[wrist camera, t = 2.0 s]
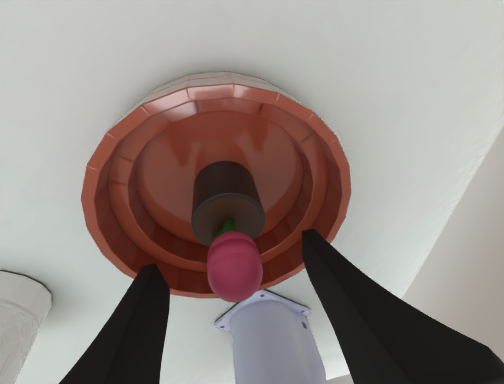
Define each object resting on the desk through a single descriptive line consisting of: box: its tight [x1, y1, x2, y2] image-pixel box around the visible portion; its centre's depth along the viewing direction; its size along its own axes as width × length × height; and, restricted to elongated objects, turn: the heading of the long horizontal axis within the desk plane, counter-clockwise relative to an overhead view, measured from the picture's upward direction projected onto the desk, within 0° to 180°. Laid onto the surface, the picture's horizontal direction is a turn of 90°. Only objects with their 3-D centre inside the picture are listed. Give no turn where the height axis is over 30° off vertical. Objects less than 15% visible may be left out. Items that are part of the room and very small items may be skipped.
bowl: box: [81, 72, 351, 298], centre depth 16 cm, size 15×15×4 cm
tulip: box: [191, 161, 265, 302], centre depth 14 cm, size 4×4×9 cm
